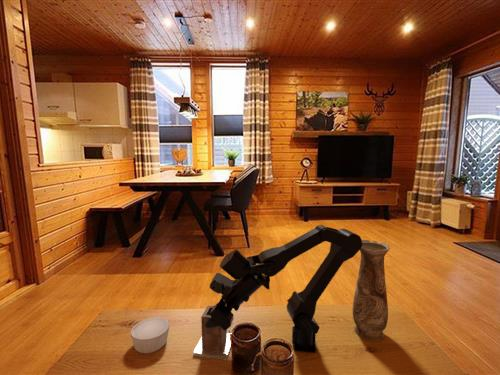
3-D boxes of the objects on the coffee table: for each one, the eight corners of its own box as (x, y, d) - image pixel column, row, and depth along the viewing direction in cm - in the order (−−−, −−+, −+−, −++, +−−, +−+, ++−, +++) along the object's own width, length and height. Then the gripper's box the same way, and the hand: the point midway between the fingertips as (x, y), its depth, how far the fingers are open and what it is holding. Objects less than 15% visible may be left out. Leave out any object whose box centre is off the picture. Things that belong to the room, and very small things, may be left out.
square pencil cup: (226, 337, 82) (226, 307, 81) (221, 350, 77) (221, 318, 76) (208, 335, 83) (207, 305, 82) (202, 348, 77) (201, 316, 76)
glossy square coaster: (234, 336, 84) (234, 322, 84) (226, 360, 74) (226, 343, 74) (204, 333, 86) (204, 319, 85) (193, 355, 76) (192, 339, 75)
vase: (386, 327, 88) (390, 241, 85) (387, 348, 79) (392, 251, 76) (353, 320, 93) (355, 237, 90) (350, 338, 83) (354, 246, 80)
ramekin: (133, 336, 85) (132, 320, 84) (169, 328, 89) (168, 314, 88) (129, 360, 74) (128, 343, 74) (170, 351, 78) (169, 334, 77)
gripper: (233, 255, 86) (202, 285, 89) (216, 281, 68) (178, 317, 71) (257, 280, 85) (225, 309, 88) (247, 312, 67) (206, 348, 70)
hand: (210, 319), depth 79 cm, fingers open, 7 cm apart
